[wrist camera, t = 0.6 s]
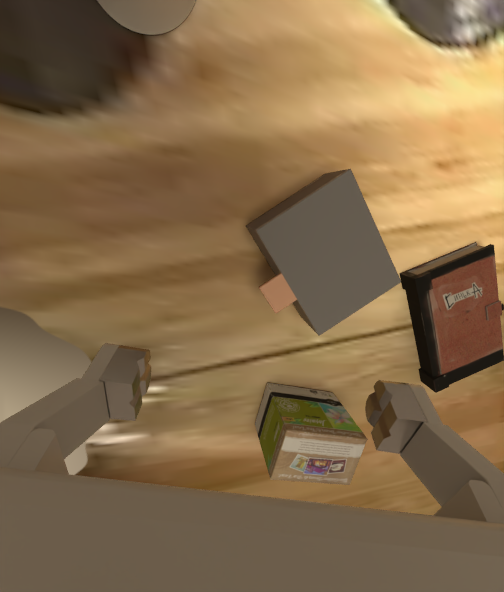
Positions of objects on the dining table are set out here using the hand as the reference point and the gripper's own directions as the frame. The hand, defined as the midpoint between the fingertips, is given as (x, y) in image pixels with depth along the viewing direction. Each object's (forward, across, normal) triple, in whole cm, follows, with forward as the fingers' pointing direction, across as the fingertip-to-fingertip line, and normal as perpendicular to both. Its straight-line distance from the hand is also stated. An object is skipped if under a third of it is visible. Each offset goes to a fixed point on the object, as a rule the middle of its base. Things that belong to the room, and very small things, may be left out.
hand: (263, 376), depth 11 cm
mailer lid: (+36, -11, +13) cm, 40 cm away
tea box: (+35, -14, +46) cm, 59 cm away
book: (+48, -43, +26) cm, 69 cm away
